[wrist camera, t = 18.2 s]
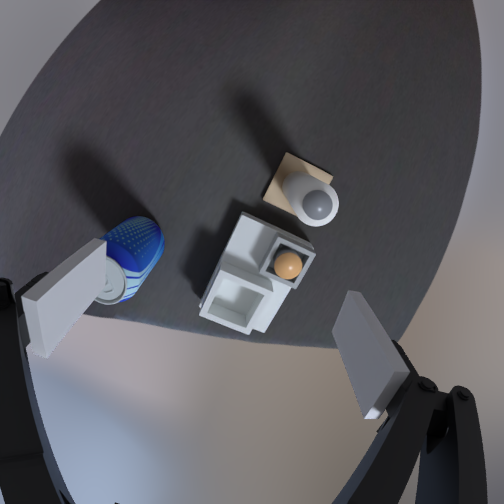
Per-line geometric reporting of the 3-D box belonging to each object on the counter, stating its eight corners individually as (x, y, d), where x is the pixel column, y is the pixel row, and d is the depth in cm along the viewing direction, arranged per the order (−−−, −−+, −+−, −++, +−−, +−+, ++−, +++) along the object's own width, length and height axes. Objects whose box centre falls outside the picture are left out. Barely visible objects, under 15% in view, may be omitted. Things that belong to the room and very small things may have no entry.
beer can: (115, 252, 49) (70, 295, 34) (126, 206, 47) (78, 237, 32) (158, 269, 50) (127, 320, 35) (172, 224, 48) (140, 262, 33)
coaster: (286, 152, 44) (286, 152, 44) (332, 176, 45) (333, 176, 45) (262, 199, 47) (262, 199, 46) (308, 221, 48) (309, 222, 47)
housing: (242, 211, 47) (241, 220, 42) (310, 242, 49) (318, 256, 43) (200, 299, 52) (195, 318, 47) (263, 324, 54) (265, 345, 49)
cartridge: (277, 178, 45) (287, 192, 32) (307, 166, 44) (331, 175, 31) (289, 208, 46) (304, 235, 33) (319, 196, 46) (346, 218, 33)
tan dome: (280, 241, 46) (282, 248, 43) (303, 252, 46) (307, 260, 44) (268, 264, 47) (269, 272, 44) (291, 274, 48) (293, 283, 45)
